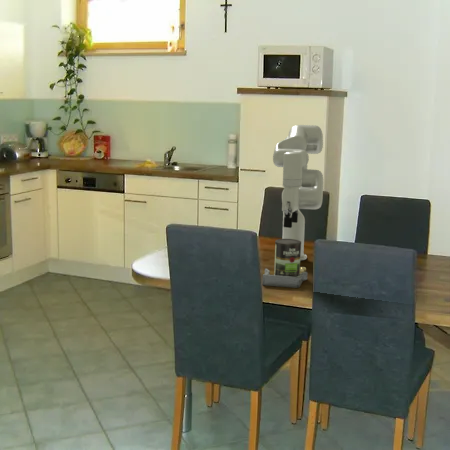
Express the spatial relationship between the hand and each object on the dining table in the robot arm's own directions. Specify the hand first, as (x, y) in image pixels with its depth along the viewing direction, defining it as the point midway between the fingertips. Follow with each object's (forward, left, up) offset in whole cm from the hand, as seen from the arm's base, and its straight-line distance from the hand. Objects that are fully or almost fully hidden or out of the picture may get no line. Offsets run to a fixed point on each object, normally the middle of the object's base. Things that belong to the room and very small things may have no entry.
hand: (290, 224), depth 278 cm
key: (+1, +5, -19) cm, 20 cm away
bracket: (+17, 0, -19) cm, 26 cm away
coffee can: (+8, 0, -20) cm, 21 cm away
